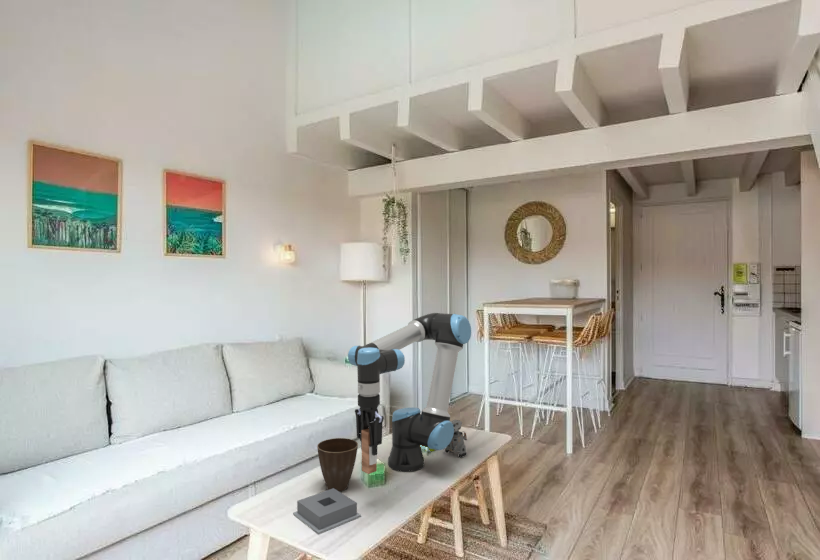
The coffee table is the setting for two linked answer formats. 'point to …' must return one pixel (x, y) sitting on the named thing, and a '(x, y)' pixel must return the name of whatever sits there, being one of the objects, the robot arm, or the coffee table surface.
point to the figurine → (457, 440)
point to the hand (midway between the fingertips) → (369, 461)
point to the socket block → (326, 510)
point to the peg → (366, 453)
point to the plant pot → (337, 461)
